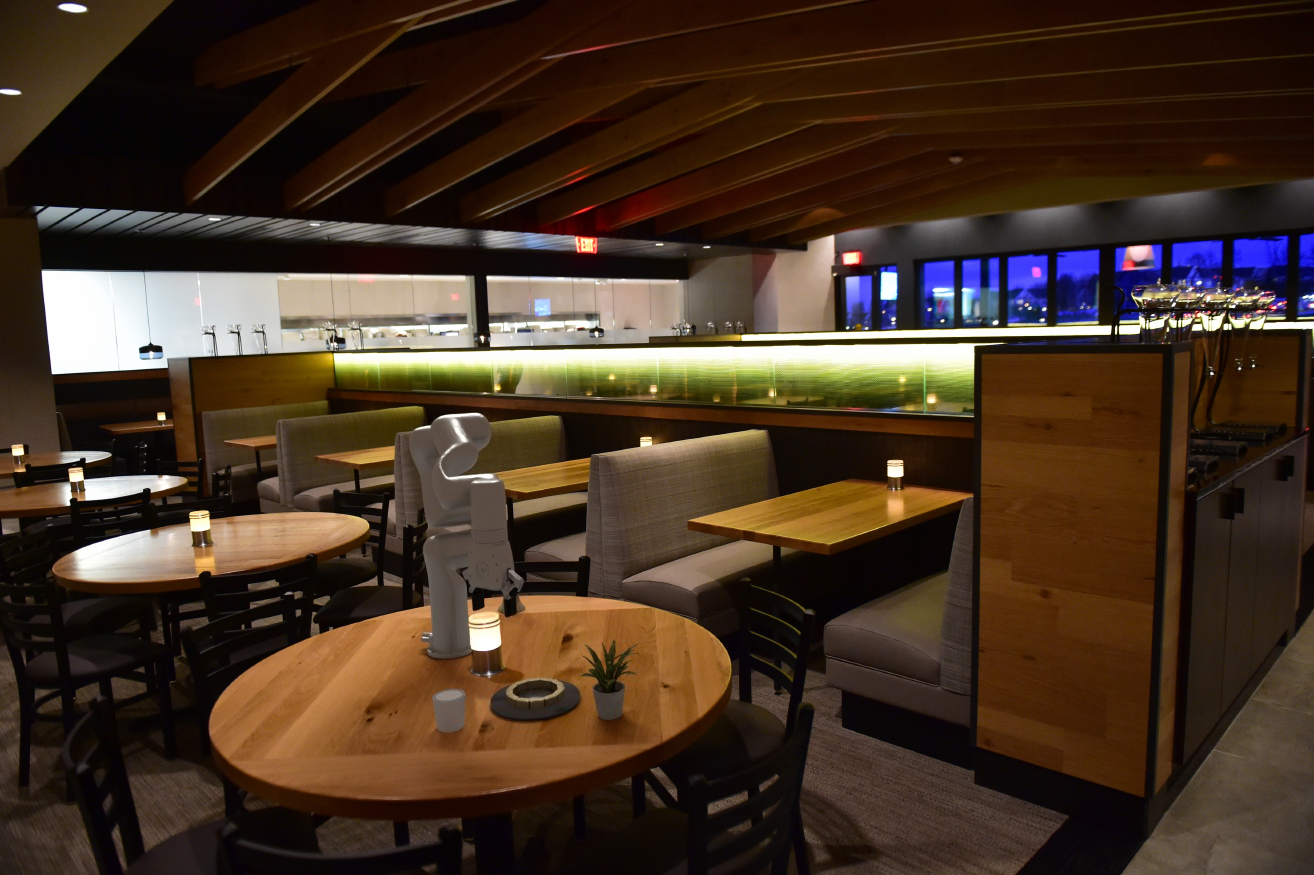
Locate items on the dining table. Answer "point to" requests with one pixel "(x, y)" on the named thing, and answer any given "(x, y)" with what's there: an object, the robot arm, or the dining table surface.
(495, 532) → the robot arm
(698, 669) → the dining table surface
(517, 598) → the hand bell
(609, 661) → the house plant
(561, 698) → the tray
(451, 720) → the gray tapered cylinder
